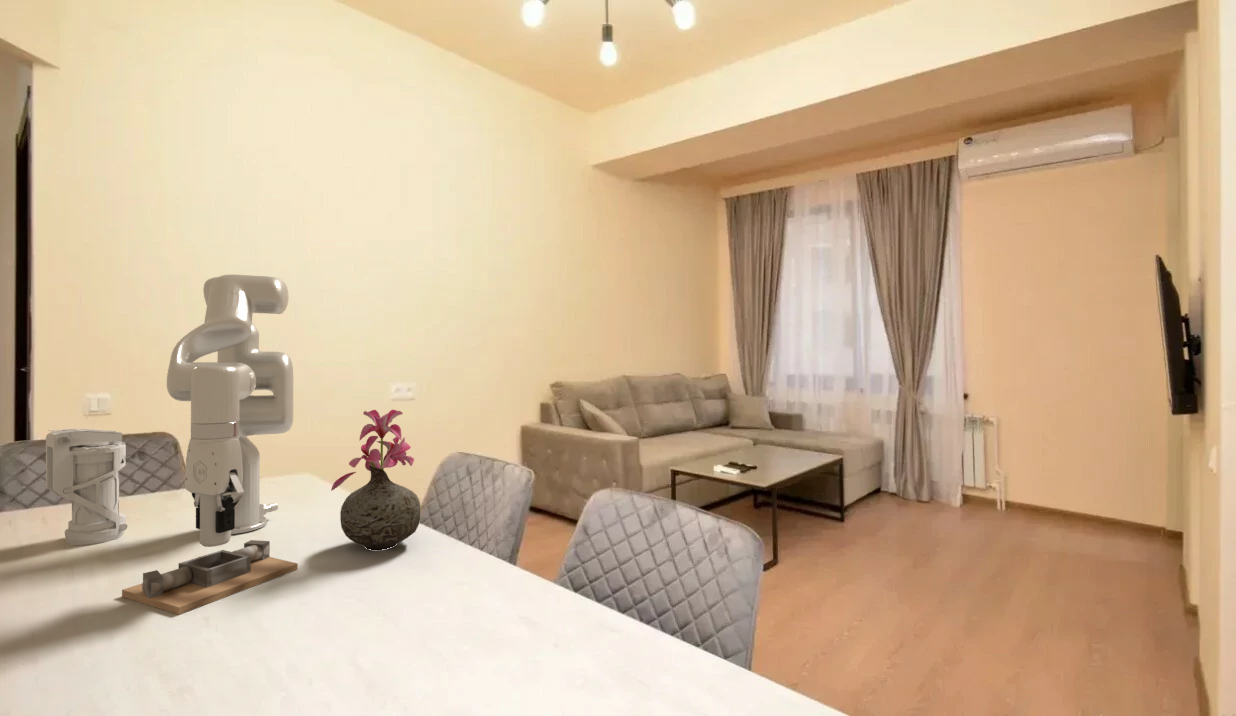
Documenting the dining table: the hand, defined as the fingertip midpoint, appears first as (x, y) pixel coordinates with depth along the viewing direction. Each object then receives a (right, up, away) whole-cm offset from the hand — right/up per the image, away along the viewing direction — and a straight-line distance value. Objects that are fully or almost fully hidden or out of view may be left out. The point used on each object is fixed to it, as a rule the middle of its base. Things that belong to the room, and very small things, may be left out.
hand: (215, 528), depth 112 cm
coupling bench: (0, -10, 0) cm, 10 cm away
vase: (+22, -10, +21) cm, 32 cm away
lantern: (-43, -9, +22) cm, 49 cm away
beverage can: (0, -3, 0) cm, 3 cm away
